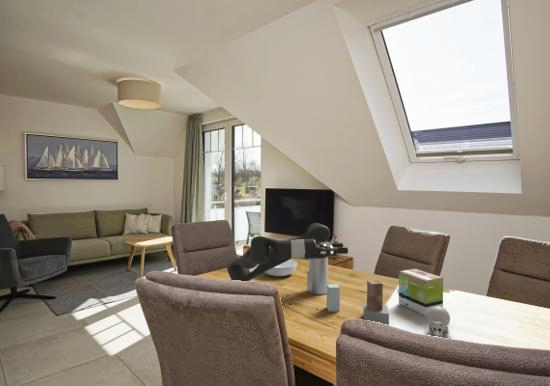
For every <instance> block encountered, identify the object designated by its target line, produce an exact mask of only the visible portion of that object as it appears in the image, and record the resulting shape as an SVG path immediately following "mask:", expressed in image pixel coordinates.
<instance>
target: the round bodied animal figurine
mask: <svg viewBox="0 0 550 386" xmlns="http://www.w3.org/2000/svg"><path fill="white" fill-rule="evenodd" d="M427 320H428V322H429V327H430V329H431V330H432V331H433V335H434V337H435V336H438V337H441V338H443V336H444V335H443V334H444V333H447V332H449V325H450V321H451V315H450V313H449V311H448V310H447V309H446V308H445V307H444V306H443V307H440V306H434V307H432V308H430V309H429V311H428V316H427Z"/></svg>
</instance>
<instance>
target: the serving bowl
mask: <svg viewBox="0 0 550 386" xmlns="http://www.w3.org/2000/svg"><path fill="white" fill-rule="evenodd" d="M297 265H298V262H297V261H296V260H294V259H290V260H288V261H286V262H284V263H282V264H280V265H278V266H276V267H274V268H272V269H270V270H268V271H266V272H264V273H265V274H266V275H268V276H273V277H277V278H279V277H285V276H289V275H291V274H293V273H294V272H296V269H297V267H298V266H297Z"/></svg>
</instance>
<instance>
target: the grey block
mask: <svg viewBox="0 0 550 386" xmlns="http://www.w3.org/2000/svg"><path fill="white" fill-rule="evenodd" d="M362 305H363V313H362V314H363V321H364V320H370V321H375V322H380V323H383V324H387V325H389V326H390V311H389V307H388V305H387V304H383V310H370V309H369V307H368V306H367V302H363V304H362Z"/></svg>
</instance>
